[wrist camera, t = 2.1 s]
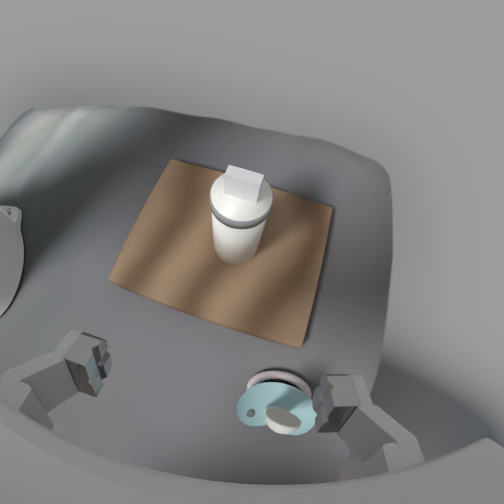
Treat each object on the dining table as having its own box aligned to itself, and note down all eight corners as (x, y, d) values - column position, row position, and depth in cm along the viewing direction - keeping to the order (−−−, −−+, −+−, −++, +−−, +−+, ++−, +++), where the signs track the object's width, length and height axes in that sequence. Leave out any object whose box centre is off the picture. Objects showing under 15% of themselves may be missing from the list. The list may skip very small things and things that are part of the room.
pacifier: (249, 361, 25) (230, 417, 22) (258, 360, 19) (233, 432, 17) (319, 380, 25) (301, 434, 22) (345, 383, 19) (323, 451, 16)
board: (112, 283, 26) (108, 280, 25) (172, 165, 32) (170, 158, 31) (297, 348, 25) (301, 348, 24) (329, 212, 32) (332, 207, 30)
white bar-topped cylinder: (206, 257, 27) (197, 192, 16) (221, 217, 28) (223, 142, 18) (250, 271, 27) (269, 214, 16) (263, 231, 28) (286, 160, 18)
